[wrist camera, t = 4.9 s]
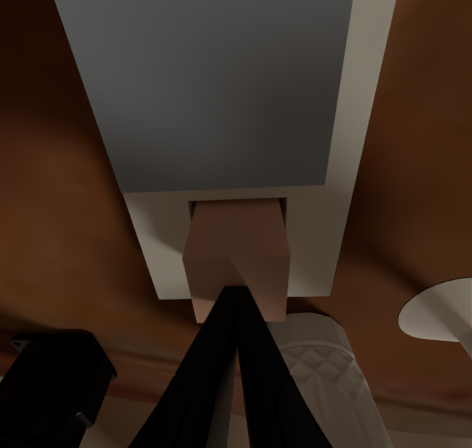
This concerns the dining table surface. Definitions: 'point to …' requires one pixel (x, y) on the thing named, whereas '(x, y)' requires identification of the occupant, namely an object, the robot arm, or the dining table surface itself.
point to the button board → (291, 197)
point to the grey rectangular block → (211, 88)
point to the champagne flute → (441, 313)
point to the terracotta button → (238, 254)
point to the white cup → (330, 380)
